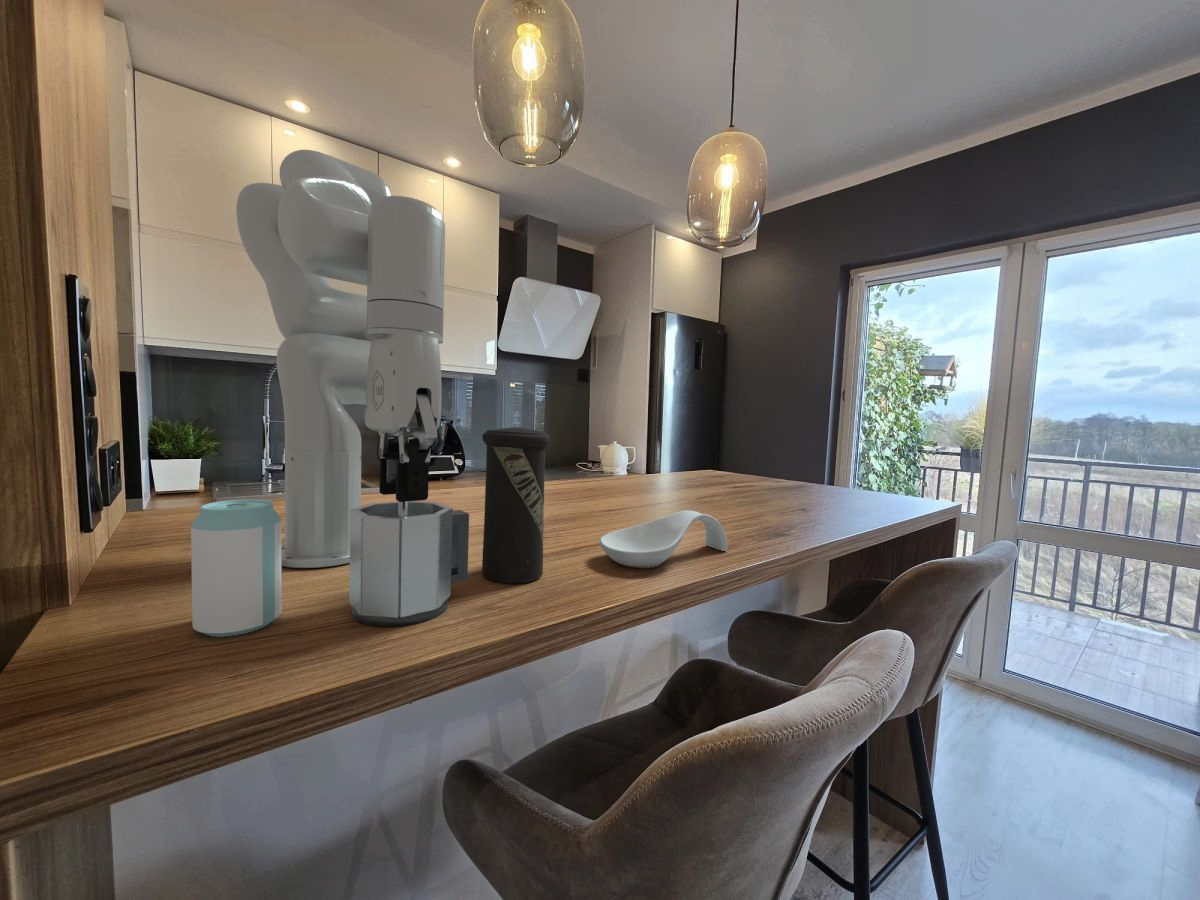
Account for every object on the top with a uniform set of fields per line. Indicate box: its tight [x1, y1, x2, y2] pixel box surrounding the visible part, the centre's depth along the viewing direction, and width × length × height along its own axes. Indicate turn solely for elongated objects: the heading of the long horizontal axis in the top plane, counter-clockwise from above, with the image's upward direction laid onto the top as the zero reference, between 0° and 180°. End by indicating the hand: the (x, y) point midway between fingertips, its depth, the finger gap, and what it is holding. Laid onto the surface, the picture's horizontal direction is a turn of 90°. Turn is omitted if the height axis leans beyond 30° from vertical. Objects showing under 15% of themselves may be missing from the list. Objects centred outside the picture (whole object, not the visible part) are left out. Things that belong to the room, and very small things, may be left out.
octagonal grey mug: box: [348, 500, 470, 628], centre depth 55 cm, size 10×12×11 cm
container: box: [481, 427, 551, 584], centre depth 66 cm, size 9×9×20 cm
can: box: [190, 499, 282, 638], centre depth 48 cm, size 7×7×12 cm
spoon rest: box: [599, 509, 728, 569], centre depth 79 cm, size 24×12×7 cm, turn 125°
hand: (403, 495), depth 53 cm, fingers open, 4 cm apart
